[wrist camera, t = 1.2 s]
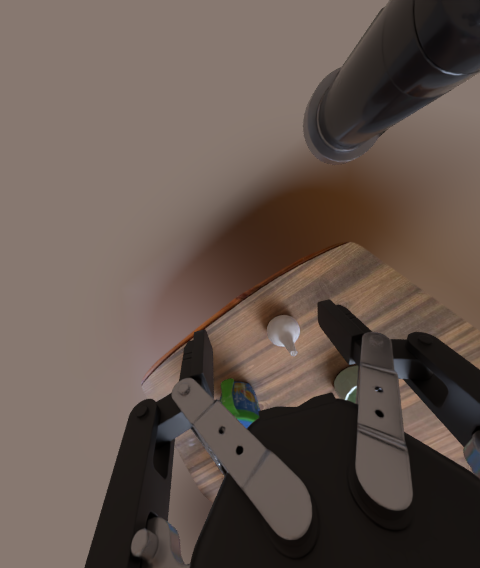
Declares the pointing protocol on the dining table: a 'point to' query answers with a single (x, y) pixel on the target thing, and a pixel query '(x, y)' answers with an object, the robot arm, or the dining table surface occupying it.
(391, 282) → the dining table surface
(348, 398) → the dish
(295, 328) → the garlic bulb
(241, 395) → the snack cup
